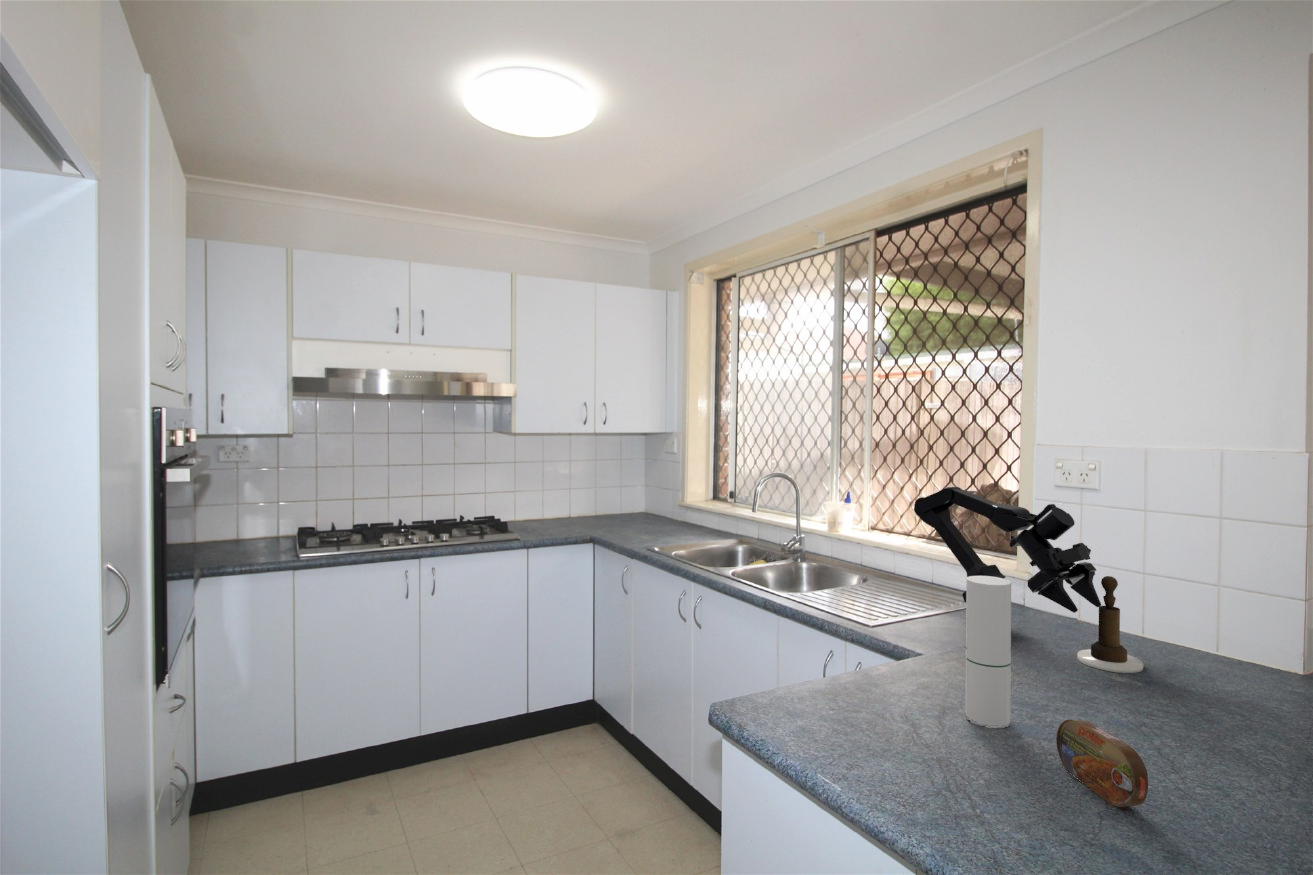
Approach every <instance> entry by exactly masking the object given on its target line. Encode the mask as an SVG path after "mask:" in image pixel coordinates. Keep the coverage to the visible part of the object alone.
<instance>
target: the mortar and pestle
mask: <svg viewBox="0 0 1313 875" xmlns="http://www.w3.org/2000/svg"><path fill="white" fill-rule="evenodd" d="M1100 584H1101V586H1102V588H1103V589H1104V590H1103V591H1104V592H1105V594H1104V595H1103V603H1104V605H1101V606H1099V607H1098V641H1095V642H1093V643H1092V644H1091V646H1090V649H1091V656H1093V657H1094V658H1097V659H1099V660H1103V661H1109V662H1115V663H1122V662H1126V661H1127V655H1128V649H1126V648H1125V647H1124V646H1123V645H1122V644H1121V643H1120V642H1121V640H1120V638H1121V634H1120V632H1121V631H1120V630H1121V628H1120V627H1121V621H1120V620H1121V608H1120V607H1116V606H1115V603H1116V596H1115V595H1114V593H1115V590H1117V588H1118V586H1119V585H1118V584H1119V583H1118V580H1117V579H1116V578H1115V577H1114V576H1111V575H1110V576H1109V575H1106V576H1104V577H1102V578H1101V581H1100Z"/></svg>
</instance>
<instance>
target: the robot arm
mask: <svg viewBox="0 0 1313 875" xmlns="http://www.w3.org/2000/svg"><path fill="white" fill-rule="evenodd" d="M954 505H956V506H959V507H961V508H963V509H966V510H968V511H970V512H973V513H975V514H978V515H980V516H983V517H985V518H986V519H988V520H989V521H990V522H991V523H992V524H993V525H994V526H995V527H997V528H999V529H1000V530H1002V531H1003V532H1006V533H1007V532H1008V533H1012V532H1018V531H1019V533H1018V534H1017V535H1016V534H1015V535H1011V536H1010V542H1009V547H1010V548H1015V547H1021V548H1022V550H1023V551H1024V553H1025V554H1026V555H1027V556H1028V558H1030V559H1031V561H1030V562H1029V564H1030V566H1031V567H1037V569H1038V570H1039V571H1037V573H1035V574H1033V576H1031V577H1030V578H1029V579H1028V580H1027V588H1028V589H1029V590H1030V591H1031V592H1032V593H1037V595H1039V596H1043V597H1044V598H1046V599H1049V600H1050V601H1052V602H1054V603H1056V604H1058V605H1059V606H1061V607H1062V608H1064V609H1066V610H1068V611H1070V612H1072V613H1077V612H1078V610H1079V609H1078V607H1077V605H1076V604H1075V602H1074V601H1073V599H1072V597H1070V595H1069V594H1068V592H1067V591H1066V589H1065V588H1064V582H1066V584H1068V585H1070V589H1072V590H1073V591H1074V592H1076V593H1077V594H1079V596H1080V597H1082V598H1084V599H1085V600H1086V601H1087V602H1089V603H1090V604H1092V605H1093V606H1095V607H1096V608H1099V606H1102V602H1101V600H1100V597H1099V596H1098V593H1097V591H1096V589H1095V585H1094V582H1093V581H1094V576H1095V575H1096V571H1097V569H1096V567H1095V566H1094V565H1093V564H1092V563H1091V562H1086V561H1087V560H1091V557H1090V555H1091V551H1092V550H1091V549H1090V548H1089V547H1088V545H1087V544H1085V543H1084V542H1078V543H1075V544H1073V545H1072V547H1070V548H1067V549H1062V548H1061V547H1054V546H1053V545H1052V544H1051V542H1050V541H1051V540H1052V541H1056V540H1057V539H1060V538H1061V537H1062V536H1063V535H1064V534H1065V533H1067V532H1068V531H1069V530H1070V529H1071V528H1072V527H1074V526H1075V519H1074V518H1073V517H1072V515H1071V514H1070V513H1068V512H1067V511H1065V510H1064V509H1062V508H1059V507H1058V506H1056V505H1055V504H1054V503H1049V504H1047V505H1046V506H1045V507H1044V508H1043V510H1042V511H1040V512H1039V513H1038V514H1036V513H1035V514H1034V513H1031V512H1030V510H1028V509H1027V508H1026V507H1023V506H1022V507H1021V506H1017V505H1010V504H1003V503H997V502H996V501H993V500H990V499H988V498H985V497H982V496H980V495H978V494H975V493H972V492H969V491H968V490H964V489H962V488H961V487H959V486H947V487H943V489H941V490H939V491H936V492H934V493H932V494H930V495H927V496H923V497H919V498H917V499H916V500H915V502H914V507H913V511H914V513H915V515H916V516H917V518H919V519H920V520H921V521H922V522H923V523H925V524H926V525H928V526H930V527H931V528H933V529H934V530H935V531H936V533H937V534H938V535H939V536H940V538H941V539H942V541H943V542H944V544H946V546H947V548H948V549H949V550H950V551H951V553H952V555H953V556H954V557H955V559H956V560H957V562H958V563H959V564H960V565H961V566H962V568H963V569H964V571H965V572H966V578H967V577H970V576H992V577H999V578H1003V579H1006V576H1005V575H1004V574H1002V573H1001V571H1000V569H999V567H998V566H997V565H996V564H989V565H987V564H986V563H985V562H984V561H982V559H981V558H980V556H979V555H978V554H977V553H976V550H974V549H973V547H972V546H971V545H970V544H969V542H968V540H967V539H966V538H965V537H964V535H963V534H962V532H961V531H960V530H959V529H958V527H957V526H956V524H954V522H953V521H952V519H951V512H950V508H951V507H953V506H954ZM1049 540H1050V541H1049ZM1084 560H1085V561H1084ZM1081 561H1083V562H1081ZM1076 562H1077V563H1076ZM1078 562H1079V563H1078ZM961 595H962V597H963V598H962V599H963V602H964V603H966V590H965V591H963V593H962V594H961Z"/></svg>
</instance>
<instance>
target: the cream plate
mask: <svg viewBox="0 0 1313 875" xmlns="http://www.w3.org/2000/svg"><path fill="white" fill-rule="evenodd" d="M1076 654H1077V660H1078V661H1079V663H1082V664H1084V665H1086V666H1089V667H1091V668H1094V669H1098V670H1101V671H1107V672H1113V673H1119V674H1136V673H1141V672H1142V671H1143V670H1144V662H1143V661H1142V660H1140V659H1139V658H1137V657H1135V656H1132V655H1129V654H1127V661H1126V662H1122V663H1115V662H1109V661H1103V660H1099V659H1097V658H1094V657H1093V656H1091V648H1090V649H1080V650H1079V651H1078V652H1077V653H1076Z"/></svg>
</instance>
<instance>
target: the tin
mask: <svg viewBox="0 0 1313 875" xmlns="http://www.w3.org/2000/svg"><path fill="white" fill-rule="evenodd" d="M1055 740H1056V748H1057V749H1056V750H1057V753H1058V756H1059V759H1060V761H1061V764H1062V766H1063V767H1064V769H1065V771H1066V772H1067V771H1068V772H1067V773H1068V774H1069V773H1071V774H1072V775H1074V776H1075V777H1076V778H1078V780H1080V781H1081V782H1083V784H1085V785H1086V786H1088V787H1089V788H1090V789H1091V791H1092V790H1093V791H1094V792H1096V793H1095V794H1096V795H1097V794H1098V795H1099V796H1098V795H1097V796H1098V797H1100V796H1101V797H1102V798H1101V797H1100V798H1101V799H1103V800H1104V799H1105V800H1106V801H1105V800H1104V801H1105V802H1107V803H1108V804H1110V805H1111V806H1113V807H1118V808H1123V807H1124V808H1125V807H1136V806H1140V805H1141V804H1143V803H1144V802H1145V801H1146V799H1147V796H1148V791H1149V774H1148V771H1147V768H1146V767H1147V766H1146V765H1145V763H1144V761H1143V759H1142V758H1141V756H1140V755H1139V753H1138V752H1137V751H1136V750H1135V748H1133V747H1131V746H1130V745H1129V744H1128V743H1126V742H1124V741H1123V740H1120V739H1119V738H1117V737H1115V736H1113V735H1112V734H1111V733H1109V732H1107V731H1106V730H1104V729H1102V728H1100V727H1099V726H1097V725H1096V724H1094V723H1091V722H1089V721H1086V720H1075V719H1066V720H1064V721H1062V722H1061V723H1060V724H1059V726H1058V728H1057V732H1056V739H1055ZM1078 780H1077V781H1078ZM1081 782H1080V783H1081ZM1083 784H1082V785H1083ZM1085 785H1084V786H1085ZM1086 786H1085V787H1086ZM1088 787H1087V788H1088ZM1089 788H1088V789H1089ZM1090 789H1089V790H1090ZM1093 791H1092V792H1093ZM1094 792H1093V793H1094Z"/></svg>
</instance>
